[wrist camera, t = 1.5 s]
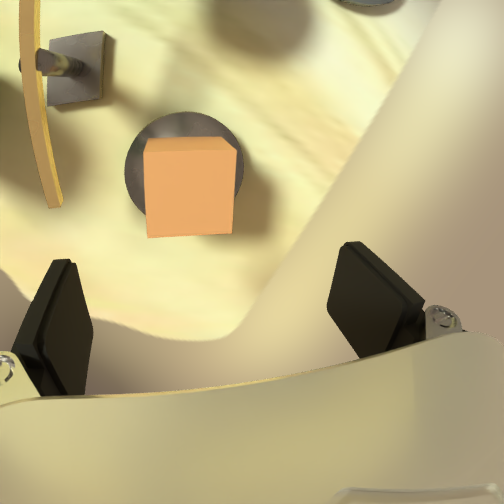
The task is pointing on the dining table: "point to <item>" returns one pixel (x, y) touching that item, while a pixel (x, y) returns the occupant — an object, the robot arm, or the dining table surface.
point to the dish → (367, 2)
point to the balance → (90, 88)
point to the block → (189, 186)
